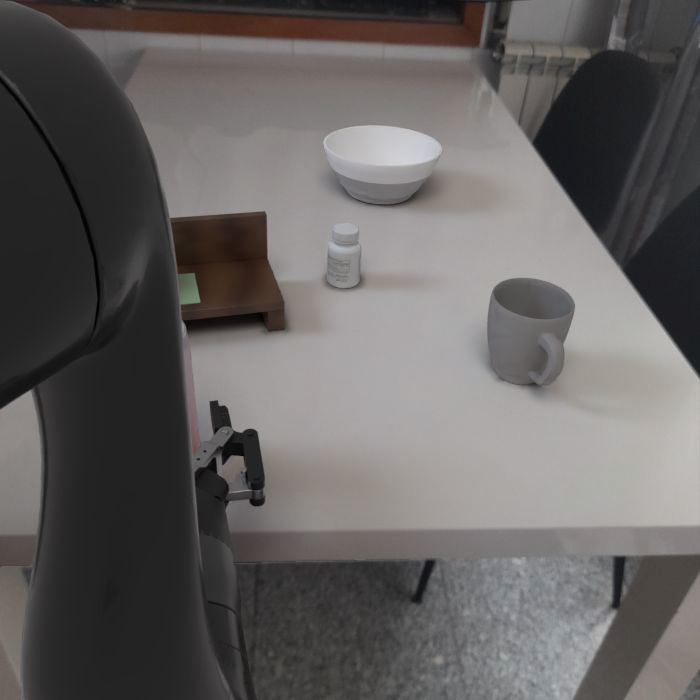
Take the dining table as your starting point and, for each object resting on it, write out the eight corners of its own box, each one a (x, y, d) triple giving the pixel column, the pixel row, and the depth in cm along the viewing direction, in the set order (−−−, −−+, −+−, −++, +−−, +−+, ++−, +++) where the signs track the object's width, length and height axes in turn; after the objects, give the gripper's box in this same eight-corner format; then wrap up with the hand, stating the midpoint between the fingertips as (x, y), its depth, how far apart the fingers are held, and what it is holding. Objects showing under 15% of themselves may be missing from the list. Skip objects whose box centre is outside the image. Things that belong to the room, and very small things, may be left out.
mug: (466, 351, 84) (479, 279, 79) (535, 344, 86) (553, 274, 80) (507, 417, 75) (524, 341, 69) (584, 408, 76) (607, 333, 71)
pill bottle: (345, 269, 99) (348, 218, 94) (366, 283, 96) (369, 230, 92) (320, 278, 96) (321, 226, 92) (340, 292, 94) (343, 239, 89)
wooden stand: (110, 349, 81) (96, 271, 75) (109, 295, 90) (97, 222, 85) (284, 329, 86) (284, 255, 80) (266, 280, 95) (265, 210, 90)
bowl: (303, 179, 125) (303, 132, 120) (399, 165, 132) (403, 120, 128) (355, 224, 111) (358, 173, 106) (459, 205, 118) (466, 157, 114)
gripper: (286, 517, 46) (246, 368, 58) (47, 559, 42) (60, 390, 55) (286, 590, 50) (249, 436, 63) (69, 634, 46) (76, 462, 59)
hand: (161, 415), depth 59 cm, fingers open, 8 cm apart
